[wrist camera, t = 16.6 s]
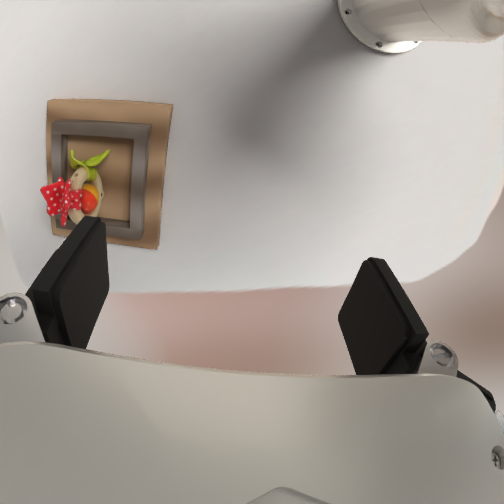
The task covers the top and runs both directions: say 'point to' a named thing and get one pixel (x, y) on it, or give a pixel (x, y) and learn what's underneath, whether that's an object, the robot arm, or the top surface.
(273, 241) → the top surface
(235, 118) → the top surface
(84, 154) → the wooden tray
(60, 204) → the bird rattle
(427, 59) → the top surface
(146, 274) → the top surface
